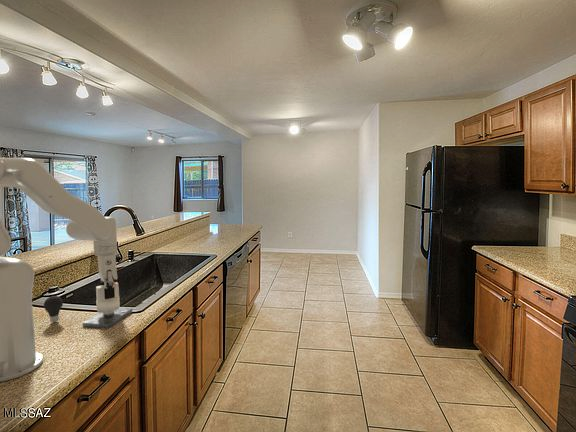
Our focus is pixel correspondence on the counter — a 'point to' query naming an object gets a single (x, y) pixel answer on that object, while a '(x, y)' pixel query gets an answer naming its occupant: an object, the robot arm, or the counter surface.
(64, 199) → the robot arm
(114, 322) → the plate
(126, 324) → the counter surface
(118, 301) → the twist cap
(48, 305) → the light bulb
